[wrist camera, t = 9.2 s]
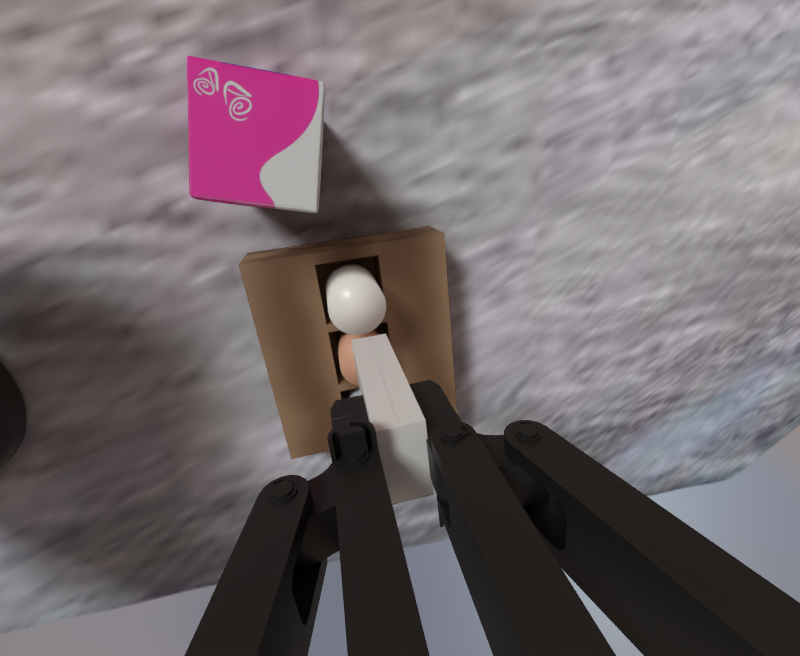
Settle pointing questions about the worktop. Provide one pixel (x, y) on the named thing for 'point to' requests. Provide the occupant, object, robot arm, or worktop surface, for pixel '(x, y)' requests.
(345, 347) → the brown egg
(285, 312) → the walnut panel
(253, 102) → the supplement box
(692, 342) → the worktop surface
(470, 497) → the robot arm
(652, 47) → the worktop surface
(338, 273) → the white egg
